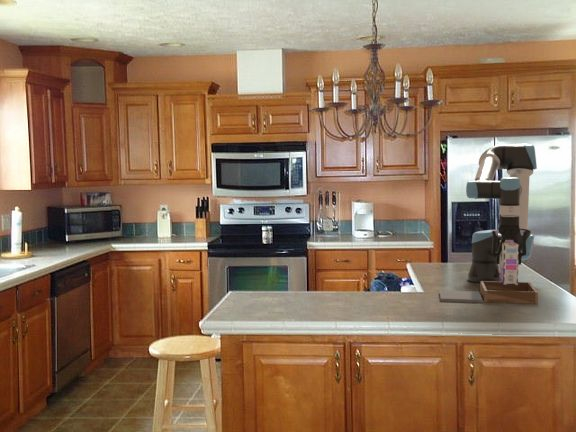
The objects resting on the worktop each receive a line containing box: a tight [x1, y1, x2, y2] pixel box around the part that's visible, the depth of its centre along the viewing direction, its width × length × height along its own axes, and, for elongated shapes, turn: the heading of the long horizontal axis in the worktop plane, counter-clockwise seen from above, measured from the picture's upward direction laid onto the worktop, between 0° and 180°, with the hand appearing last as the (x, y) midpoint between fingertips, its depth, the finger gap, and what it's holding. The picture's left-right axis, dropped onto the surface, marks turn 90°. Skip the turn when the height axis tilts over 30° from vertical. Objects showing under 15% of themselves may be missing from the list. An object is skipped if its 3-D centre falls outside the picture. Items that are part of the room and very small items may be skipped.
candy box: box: [500, 240, 519, 285], centre depth 264 cm, size 14×6×16 cm, turn 168°
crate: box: [479, 281, 539, 304], centre depth 265 cm, size 20×20×4 cm
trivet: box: [439, 289, 483, 304], centre depth 265 cm, size 16×16×1 cm
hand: (508, 272), depth 265 cm, fingers closed on candy box, 6 cm apart
